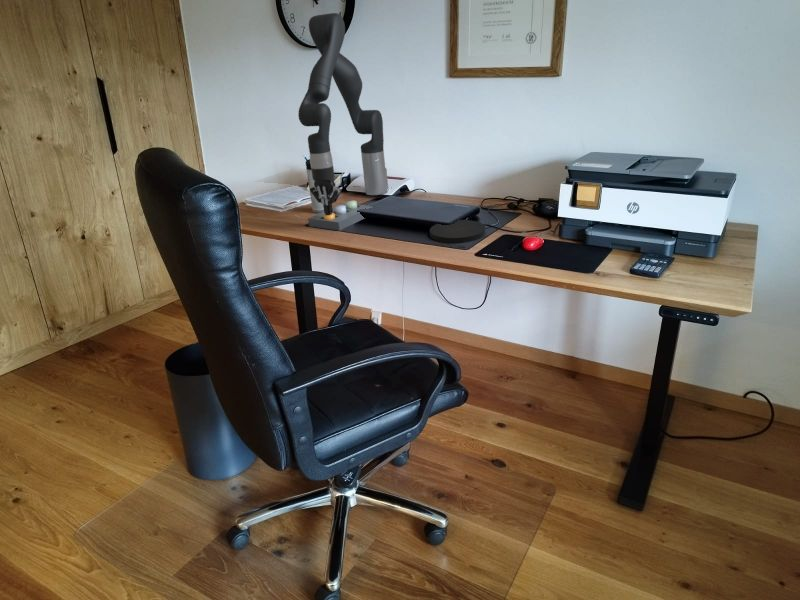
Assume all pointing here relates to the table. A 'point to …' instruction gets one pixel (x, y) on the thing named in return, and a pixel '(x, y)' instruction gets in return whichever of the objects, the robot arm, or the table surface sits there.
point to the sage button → (351, 204)
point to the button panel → (338, 219)
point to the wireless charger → (458, 231)
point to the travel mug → (316, 205)
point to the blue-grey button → (340, 209)
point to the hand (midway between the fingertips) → (328, 214)
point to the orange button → (329, 216)
